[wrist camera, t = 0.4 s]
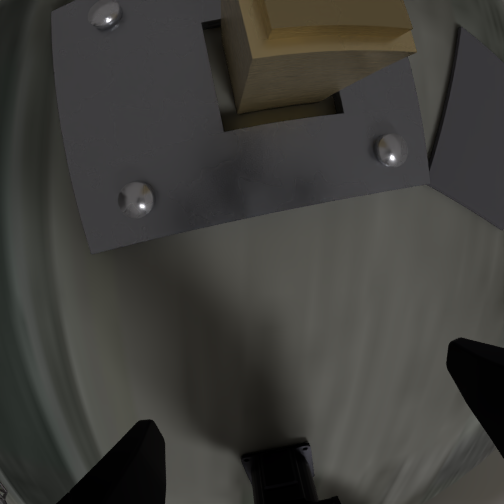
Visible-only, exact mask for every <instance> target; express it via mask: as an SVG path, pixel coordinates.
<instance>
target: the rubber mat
mask: <svg viewBox="0 0 504 504" xmlns="http://www.w3.org/2000/svg"><path fill="white" fill-rule="evenodd" d="M428 167H429V176H430V184H426V185H428V186H430V187H432V188H434V189H435V190H437V191H439V192H441V193H442V194H444V195H446V196H448V197H449V198H451V199H453V200H454V201H456V202H458V203H460V204H461V205H463V206H464V207H466V208H468V209H469V210H471V211H473V212H474V213H476V214H477V215H479V216H480V217H482V218H484V219H485V220H487V221H488V222H490V223H491V224H493V225H494V226H496V227H497V228H499V229H500V230H503V229H504V63H503V62H502V61H501V60H500V59H499V58H498V57H497V56H496V55H495V54H494V53H492V52H491V51H490V50H489V49H488V48H487V47H486V46H485V45H483V44H482V43H481V42H480V41H479V40H478V39H476V38H475V37H474V36H473V35H472V34H470V33H469V32H468V31H467V30H465V29H464V28H463V27H459V29H458V36H457V43H456V49H455V55H454V61H453V67H452V72H451V77H450V82H449V87H448V92H447V96H446V101H445V105H444V109H443V113H442V117H441V121H440V125H439V129H438V133H437V136H436V140H435V144H434V147H433V151H432V154H431V157H430V161H429V164H428Z"/></svg>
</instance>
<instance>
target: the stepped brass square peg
mask: <svg viewBox="0 0 504 504" xmlns="http://www.w3.org/2000/svg"><path fill="white" fill-rule="evenodd" d="M412 29H413V28H412V24H411V21H410V18H409V15H408V13H407V10H406V7H405V4H404V1H403V0H221V36H222V44H223V49H224V53H225V58H226V63H227V67H228V72H229V76H230V81H231V86H232V90H233V95H234V100H235V105H236V109H237V114H242V113H248V112H253V111H259V110H265V109H271V108H277V107H284V106H291V105H298V104H306V103H314V102H320V101H322V100H323V99H325V98H327V97H329V96H331V95H332V94H334V93H336V92H338V91H340V90H342V89H344V88H345V87H347V86H349V85H351V84H353V83H355V82H357V81H359V80H361V79H363V78H365V77H366V76H368V75H370V74H372V73H374V72H376V71H378V70H380V69H382V68H384V67H387V66H389V65H391V64H393V63H395V62H397V61H399V60H401V59H403V58H405V57H408V56H410V55H412V54H414V53H416V52H417V51H416V47H415V43H414V40H413V37H412V33H411V30H412Z"/></svg>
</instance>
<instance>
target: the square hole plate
mask: <svg viewBox="0 0 504 504" xmlns="http://www.w3.org/2000/svg"><path fill="white" fill-rule="evenodd" d="M220 26H221V0H75V1H73V2H71V3H68V4H66V5H64V6H62V7H60V8H58V9H56V10H54V11H52V12H51V28H52V52H53V66H54V78H55V87H56V96H57V104H58V111H59V118H60V125H61V131H62V137H63V143H64V148H65V153H66V158H67V163H68V168H69V173H70V177H71V182H72V186H73V190H74V194H75V198H76V202H77V206H78V210H79V214H80V218H81V221H82V225H83V228H84V232H85V235H86V239H87V242H88V245H89V248H90V252H91V254H95V253H99V252H103V251H107V250H111V249H115V248H119V247H123V246H127V245H131V244H135V243H140V242H144V241H148V240H152V239H156V238H161V237H165V236H169V235H173V234H178V233H182V232H186V231H191V230H195V229H200V228H204V227H209V226H213V225H218V224H222V223H227V222H231V221H236V220H241V219H245V218H250V217H255V216H260V215H264V214H269V213H274V212H279V211H284V210H289V209H294V208H299V207H304V206H309V205H314V204H319V203H324V202H330V201H335V200H340V199H345V198H351V197H356V196H362V195H367V194H373V193H378V192H384V191H390V190H396V189H401V188H407V187H413V186H419V185H425V184H430V176H429V167H428V158H427V151H426V143H425V137H424V130H423V124H422V118H421V113H420V108H419V102H418V98H417V93H416V88H415V84H414V79H413V75H412V71H411V67H410V63H409V59H408V57H405V58H403V59H401V60H399V61H397V62H395V63H393V64H391V65H389V66H387V67H384V68H382V69H380V70H378V71H376V72H374V73H372V74H370V75H368V76H366V77H365V78H363V79H361V80H359V81H357V82H355V83H353V84H351V85H349V86H347V87H345V88H344V89H342V90H340V91H338V92H336V93H334V94H333V97H334V102H335V106H336V111H337V114H334V115H325V116H317V117H309V118H302V119H295V120H288V121H282V122H275V123H269V124H264V125H258V126H252V127H247V128H242V129H237V130H232V131H227V132H224V130H223V125H222V120H221V116H220V111H219V106H218V101H217V96H216V92H215V87H214V82H213V77H212V72H211V68H210V63H209V58H208V53H207V48H206V44H205V39H204V34H203V30H204V29H209V28H215V27H220Z"/></svg>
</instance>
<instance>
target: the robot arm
mask: <svg viewBox="0 0 504 504" xmlns="http://www.w3.org/2000/svg"><path fill="white" fill-rule="evenodd" d="M446 365H447V369H448V371H449V373H450V375H451V376H452V378H453V380H454V382H455V383H456V385H457V387H458V389H459V390H460V392H461V394H462V396H463V398H464V400H465V401H466V403H467V405H468V406H469V408H470V409H471V411H472V412H473V413H474V415H475V416H476V418H477V419H478V421H479V422H480V423H481V425H482V426H483V428H484V429H485V431H486V432H487V434H488V435H489V437H490V438H491V440H492V441H493V443H494V444H495V446H496V447H497V449H498V450H499V452H500V454H501V455H502V457H503V458H504V348H502V347H497V346H493V345H489V344H485V343H481V342H477V341H473V340H469V339H465V338H457V339H455V340H453V341H451V342H450V343H449V346H448V354H447V361H446ZM241 461H242V464H243V466H244V468H245V471H246V473H247V475H248V477H249V480H250V482H251V484H252V487H253V496H254V504H341V502H340V500H339V498H338V496H334V497H331V498H329V499H325V500H320V501H319V500H318V496H317V492H316V489H315V485H314V481H313V478H312V477H314V469H313V462H312V455H311V448H310V444H309V443H301V444H297V445H293V446H288V447H283V448H278V449H273V450H268V451H263V452H257V453H251V454H245V455H243V456H241ZM69 492H70V493H67V494H66V495H65V496H64V497H63V498H62V499H61V500H60V501H59V502H57V503H56V504H165V496H166V465H165V441H164V438H163V436H162V434H161V433H160V431H159V429H158V427H157V426H156V424H155V422H154V421H153V420H150V419H149V420H140V421H138V422H137V423H136V424H135V425H134V426H133V427H132V428H131V429H130V430H129V431H128V432H127V433H126V434H125V435H124V436H123V437H122V438H121V440H120V441H119V442H118V443H117V444H116V445H115V446H114V447H113V448H112V449H111V450H110V451H109V452H108V453H107V454H106V455H105V456H104V457H103V458H102V459H101V460H100V461H99V462H98V463H97V464H96V465H95V466H94V467H93V468H92V469H91V470H90V471H89V472H88V473H87V474H86V475H85V476H84V477H83V478H82V479H81V480H80V481H79V482H78V483H77V484H76V485H75V486H74V487H73V488H72V489H71V490H70V491H69Z"/></svg>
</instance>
